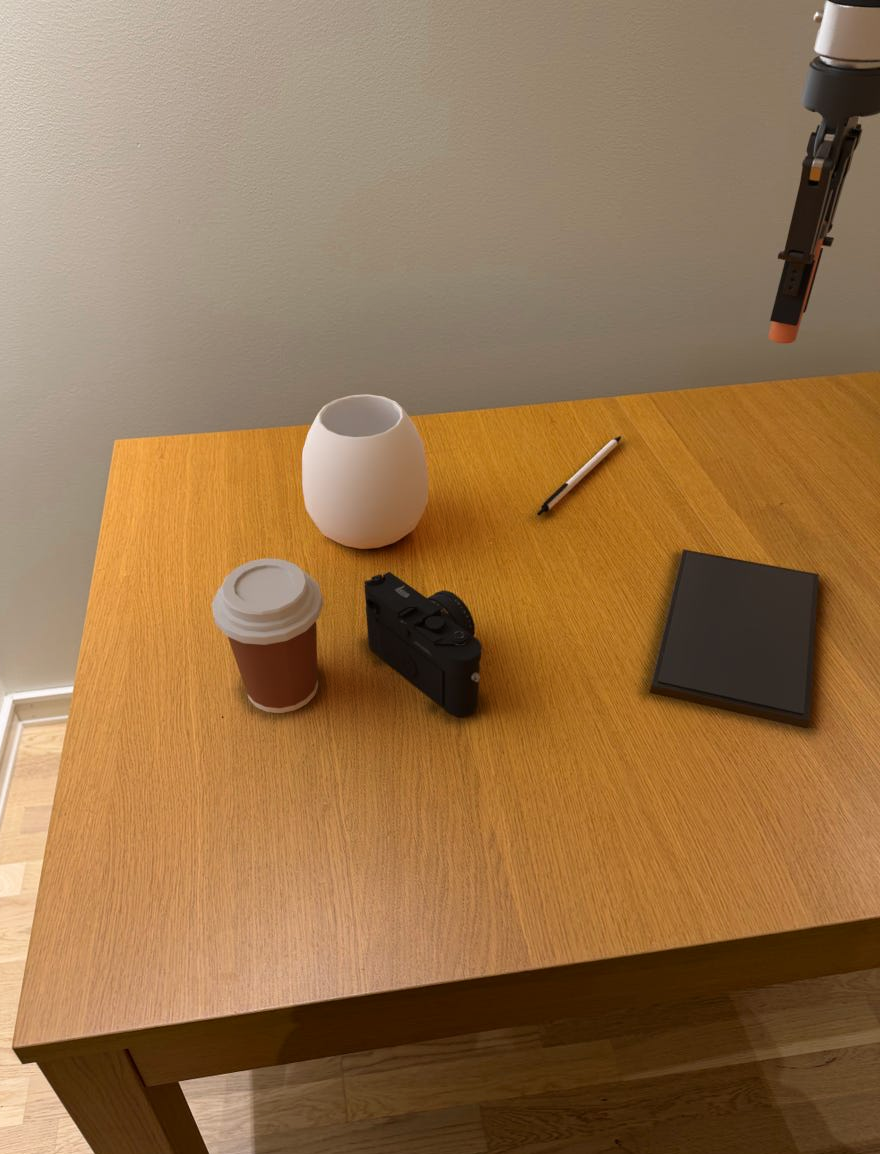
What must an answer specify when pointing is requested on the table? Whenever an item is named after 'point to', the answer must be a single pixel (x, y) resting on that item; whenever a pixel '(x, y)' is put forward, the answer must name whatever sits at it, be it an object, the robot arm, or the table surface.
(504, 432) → the table surface
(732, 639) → the plate
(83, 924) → the table surface
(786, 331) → the orange cylinder
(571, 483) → the pen
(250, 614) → the coffee cup
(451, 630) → the camera
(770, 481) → the table surface
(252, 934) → the table surface
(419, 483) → the white vase
